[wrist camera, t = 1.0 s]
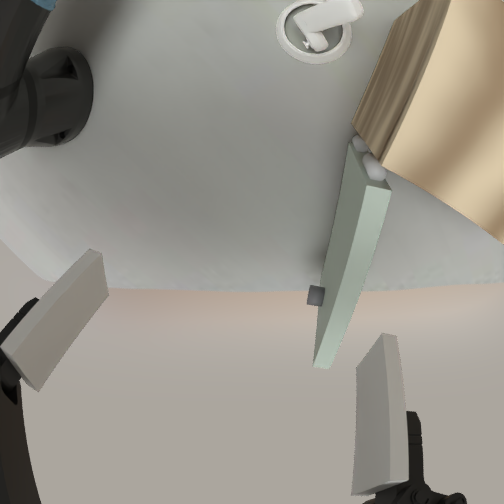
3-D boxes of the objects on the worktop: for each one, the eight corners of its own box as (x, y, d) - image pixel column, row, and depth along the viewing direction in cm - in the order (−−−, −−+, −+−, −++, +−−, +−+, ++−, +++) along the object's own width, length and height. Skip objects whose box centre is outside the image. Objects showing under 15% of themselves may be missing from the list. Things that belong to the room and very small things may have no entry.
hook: (421, 38, 17) (380, 62, 16) (337, 52, 27) (295, 78, 26) (380, -35, 13) (328, -24, 12) (303, 0, 23) (255, 21, 22)
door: (335, 129, 26) (345, 162, 16) (365, 135, 26) (396, 173, 15) (308, 278, 37) (296, 363, 26) (332, 282, 36) (329, 369, 25)
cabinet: (351, 123, 27) (381, 165, 13) (394, 20, 20) (460, -31, 6) (482, 202, 27) (555, 290, 13) (524, 116, 20) (621, 161, 6)
